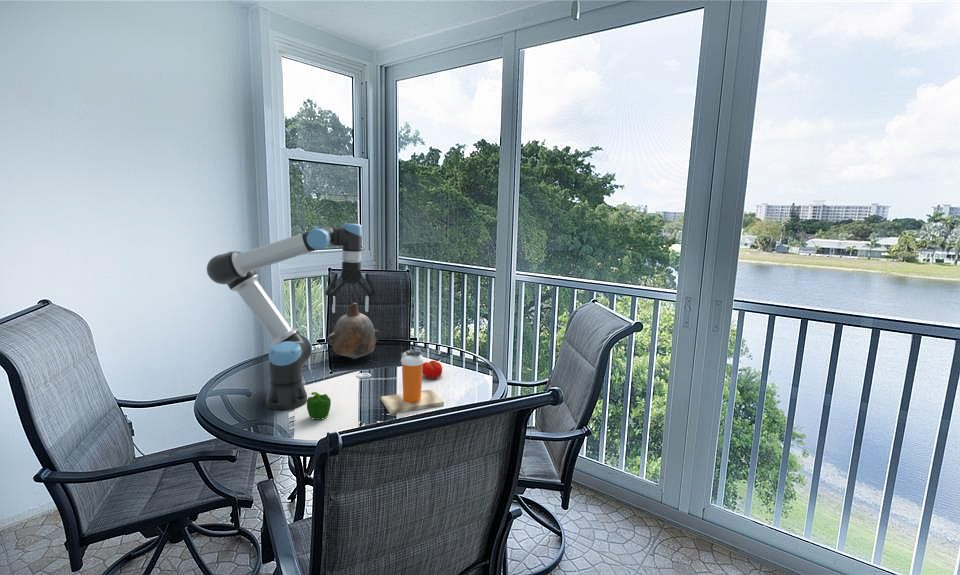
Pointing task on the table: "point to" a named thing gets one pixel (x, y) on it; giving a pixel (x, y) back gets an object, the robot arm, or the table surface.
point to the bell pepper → (318, 405)
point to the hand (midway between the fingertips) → (350, 311)
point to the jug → (353, 334)
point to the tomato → (432, 369)
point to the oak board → (399, 405)
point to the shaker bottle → (412, 375)
